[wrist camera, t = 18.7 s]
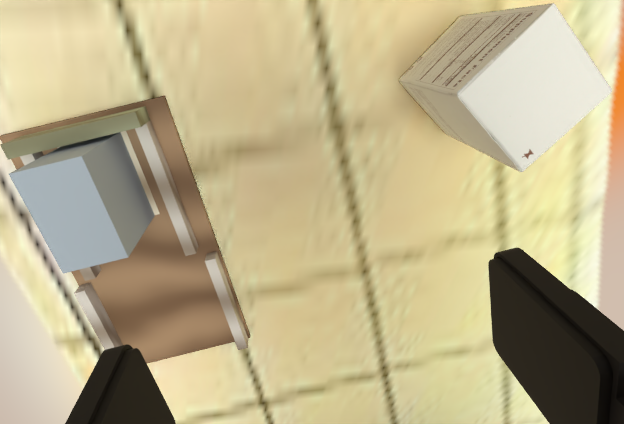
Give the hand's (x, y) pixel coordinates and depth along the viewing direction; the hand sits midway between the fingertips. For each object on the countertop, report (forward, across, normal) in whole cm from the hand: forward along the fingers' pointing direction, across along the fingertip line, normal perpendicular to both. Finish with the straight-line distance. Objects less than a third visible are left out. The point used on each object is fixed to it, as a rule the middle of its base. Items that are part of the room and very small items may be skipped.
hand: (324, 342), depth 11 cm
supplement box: (+28, -16, -1) cm, 32 cm away
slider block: (+28, +16, +1) cm, 32 cm away
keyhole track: (+28, +16, +8) cm, 33 cm away
